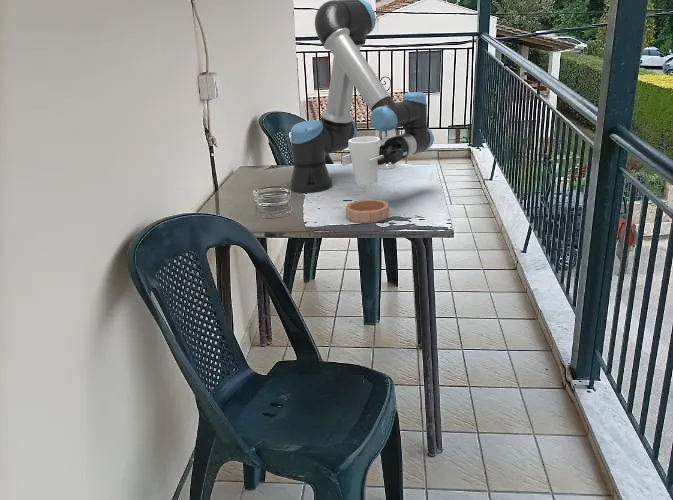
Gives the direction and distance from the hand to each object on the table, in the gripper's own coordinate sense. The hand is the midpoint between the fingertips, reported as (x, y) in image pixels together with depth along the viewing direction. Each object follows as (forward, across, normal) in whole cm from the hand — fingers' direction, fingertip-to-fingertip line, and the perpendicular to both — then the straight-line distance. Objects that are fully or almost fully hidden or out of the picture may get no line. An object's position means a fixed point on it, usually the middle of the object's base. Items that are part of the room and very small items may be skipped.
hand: (356, 162), depth 188 cm
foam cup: (-4, 0, -7) cm, 8 cm away
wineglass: (-57, +31, -18) cm, 68 cm away
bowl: (-4, 0, -18) cm, 18 cm away
